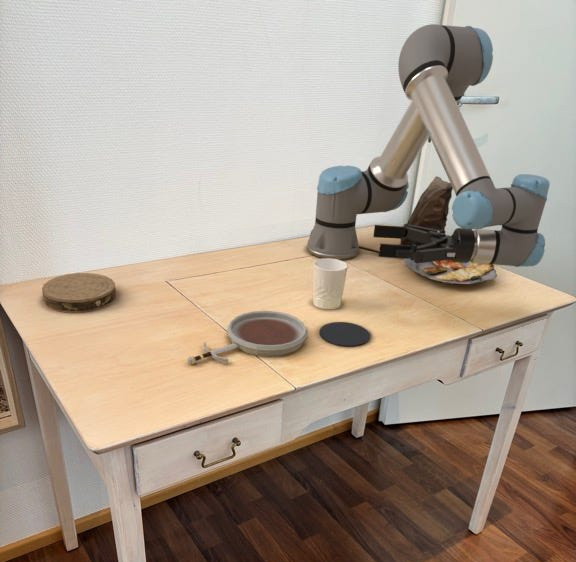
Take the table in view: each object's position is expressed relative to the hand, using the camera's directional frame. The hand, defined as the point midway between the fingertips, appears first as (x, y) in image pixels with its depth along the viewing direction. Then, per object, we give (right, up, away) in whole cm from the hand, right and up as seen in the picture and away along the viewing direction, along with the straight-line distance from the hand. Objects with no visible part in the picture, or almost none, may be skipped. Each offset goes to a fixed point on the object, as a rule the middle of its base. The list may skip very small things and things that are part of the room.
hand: (376, 240), depth 130 cm
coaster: (-8, -22, -4) cm, 23 cm away
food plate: (+25, -2, +31) cm, 40 cm away
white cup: (-11, -13, +9) cm, 19 cm away
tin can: (-68, -13, +4) cm, 69 cm away
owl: (+21, +10, +49) cm, 54 cm away
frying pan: (-29, -25, -11) cm, 39 cm away
